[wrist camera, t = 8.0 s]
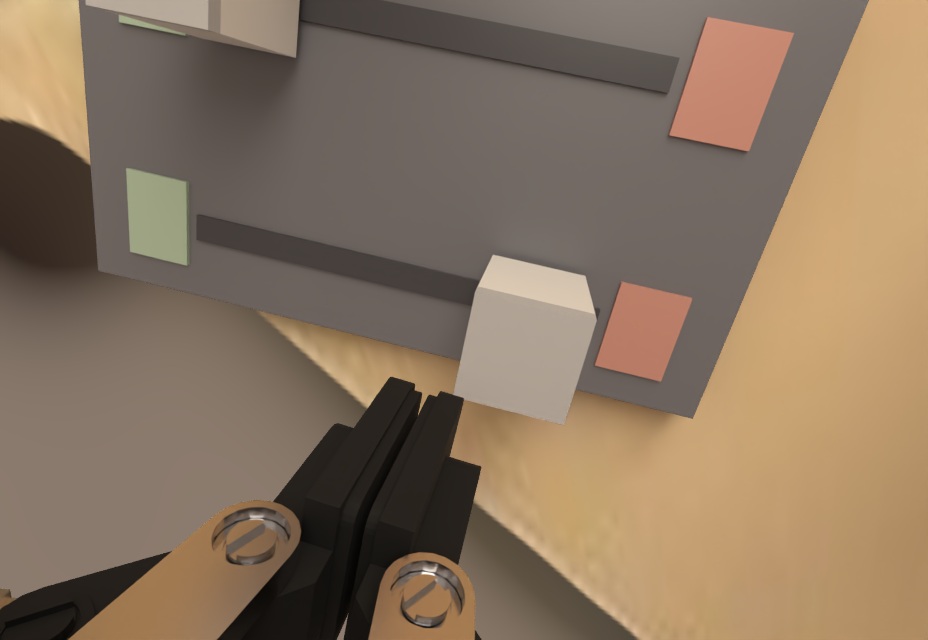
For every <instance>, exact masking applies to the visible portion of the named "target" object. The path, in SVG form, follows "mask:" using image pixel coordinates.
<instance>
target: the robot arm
mask: <svg viewBox="0 0 928 640" xmlns="http://www.w3.org/2000/svg"><path fill="white" fill-rule="evenodd" d="M421 398H422V392H418V391H415V384H414V383H411V382H407V381H404V380H401V379H397V378H394V377H390V378H389V379H388V380H387V382H386V383H385V385H384V386H383V387H382V389H381V390H380V392H379V393H378V395H377V396H376V397H375V399H374V400H373V402H372V403H371V405H370V406H369V407H368V409H367V410H366V412H365V413H364V415H363V416H362V417H361V419H360V420H359V422H358V423H357V425H356V426H355V427H354V428H351V427H348V426H345V425H342V424H334V426H332V427H331V429H330V430H329V431H328V432H327V434H326V435H325V436H324V437H323V439H322V440H321V441H320V443H319V444H318V445H317V446H316V448H315V449H314V450H313V451H312V453H311V454H310V455H309V457H308V458H307V459H306V460H305V462H304V463H303V464H302V466H301V467H300V468H299V470H298V471H297V472H296V473H295V474H294V476H293V477H292V478H291V480H290V481H289V482H288V483H287V485H286V486H285V487H284V489H283V490H282V491H281V492H280V494H279V495H278V496H277V497H276V499H275V500H274V501H273V502H271V501H261V500H253V501H246V502H240V503H237V504H235V505H232V506H229V507H227V508H225V509H224V510H222V511H221V512H219V513H217V514H216V515H214V516H213V517H212V518H211V519H210V520H208V521H207V522H206V523H205V524H204V525H203V526H201V527H200V528H199V529H198V530H197V531H196V532H194V533H193V534H192V535H191V536H190V537H189V538H187V539H186V540H185V541H184V542H183V543H181V544H180V545H179V546H178V547H177V548H176V549H174V550H173V551H171V552H167V553H163V554H160V555H156V556H153V557H149V558H146V559H142V560H139V561H135V562H132V563H128V564H125V565H121V566H118V567H114V568H111V569H107V570H103V571H100V572H96V573H93V574H90V575H86V576H83V577H79V578H75V579H72V580H68V581H65V582H61V583H58V584H54V585H51V586H47V587H43V588H41V589H38V590H36V591H33V592H30V593H28V594H25V595H22V596H21V597H19V598H11V592H10V590H9V589H0V640H337V637H338V635H339V633H340V631H341V629H342V626H343V624H344V622H345V620H346V617H347V615H348V619H347V625H346V629H345V635H344V640H481V638H480V637H479V635H478V634H477V632H476V631H475V596H474V589H473V586H472V584H471V582H470V580H469V578H468V576H467V575H466V574H465V572H464V571H463V570H462V569H461V568H460V567H459V566H458V563H459V559H460V554H461V550H462V546H463V542H464V538H465V534H466V529H467V525H468V521H469V517H470V513H471V509H472V504H473V500H474V496H475V492H476V488H477V484H478V480H479V475H480V471H481V466H477V465H474V464H471V463H467V462H464V461H461V460H457V459H454V458H451V457H450V453H451V449H452V445H453V441H454V437H455V433H456V429H457V425H458V421H459V418H460V414H461V410H462V406H463V401H464V398H462V397H459V396H456V395H452V394H449V393H445V392H442V391H440V392H439V394H438V396H437V397H435V396H432V395H429V396H428V397H427V399H426V401H425V403H424V405H423V407H422V409H421V411H420V413H419V415H418V412H419V407H420V403H421ZM417 416H418V417H417ZM348 613H349V614H348Z"/></svg>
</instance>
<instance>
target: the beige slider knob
mask: <svg viewBox="0 0 928 640" xmlns="http://www.w3.org/2000/svg"><path fill="white" fill-rule="evenodd" d="M596 322H597V318H596V315H595V311H594V307H593V303H592V299H591V295H590V292H589V288H588V284H587V280H586V276H584V275H579V274H575V273H571V272H566V271H562V270H558V269H553V268H549V267H545V266H540V265H536V264H532V263H527V262H523V261H519V260H514V259H510V258H506V257H501V256H497V255H493V256H492V258H491V260H490V262H489V264H488V266H487V268H486V270H485V272H484V274H483V276H482V279H481V281H480V283H479V285H478V287H477V289H476V291H475V295H474V300H473V304H472V309H471V314H470V318H469V323H468V328H467V332H466V337H465V342H464V346H463V351H462V356H461V360H460V365H459V370H458V374H457V379H456V384H455V388H454V393H453V395H456V396H459V397H462V398H464V400H467V401H471V402H475V403H479V404H483V405H486V406H490V407H494V408H498V409H502V410H506V411H510V412H514V413H518V414H522V415H526V416H530V417H533V418H537V419H541V420H545V421H549V422H553V423H557V424H561V425H564V424H565V421H566V417H567V414H568V411H569V408H570V405H571V401H572V398H573V395H574V392H575V389H576V385H577V382H578V379H579V376H580V373H581V370H582V366H583V363H584V360H585V357H586V354H587V350H588V347H589V344H590V341H591V338H592V335H593V331H594V328H595V325H596Z"/></svg>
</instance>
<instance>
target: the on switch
mask: <svg viewBox="0 0 928 640" xmlns="http://www.w3.org/2000/svg"><path fill="white" fill-rule="evenodd" d="M85 1H86V5H87V6H91V7H94V8H98V9H101V10H105V11H108V12H112V13H115V14H119V15H122V16H126V17H129V18H133V19H136V20H140V21H143V22H146V23H150V24H153V25H157V26H160V27H164V28H167V29H171V30H174V31H178V32H181V33H185V34H188V35H192V36H195V37H199V38H202V39H206V40H211V41H216V42H221V43H226V44H231V45H236V46H240V47H245V48H250V49H255V50H260V51H265V52H270V53H274V54H279V55H284V56H289V57H294V58H296V49H297V34H298V19H299V4H300V0H85Z"/></svg>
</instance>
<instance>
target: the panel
mask: <svg viewBox="0 0 928 640" xmlns="http://www.w3.org/2000/svg"><path fill="white" fill-rule="evenodd" d="M868 1H869V0H300V4H299V19H298V34H297V49H296V58H294V57H289V56H284V55H279V54H274V53H270V52H265V51H260V50H255V49H250V48H245V47H240V46H236V45H231V44H226V43H221V42H216V41H211V40H206V39H202V38H199V37H195V36H192V35H188V34H185V33H181V32H178V31H174V30H171V29H167V28H164V27H160V26H157V25H153V24H150V23H146V22H143V21H140V20H136V19H133V18H129V17H126V16H122V15H119V14H115V13H112V12H108V11H105V10H101V9H98V8H94V7H91V6H87V5H86V1H85V0H79V10H80V24H81V37H82V51H83V65H84V79H85V93H86V106H87V120H88V134H89V148H90V162H91V175H92V189H93V203H94V216H95V230H96V243H97V257H98V270H99V271H102V272H106V273H111V274H115V275H118V276H122V277H126V278H131V279H134V280H139V281H142V282H146V283H150V284H154V285H159V286H162V287H167V288H170V289H174V290H179V291H183V292H187V293H191V294H195V295H199V296H203V297H207V298H211V299H215V300H219V301H223V302H227V303H231V304H235V305H239V306H243V307H247V308H251V309H255V310H259V311H263V312H267V313H271V314H275V315H279V316H283V317H287V318H291V319H295V320H299V321H303V322H307V323H311V324H315V325H319V326H323V327H327V328H331V329H335V330H339V331H343V332H347V333H351V334H355V335H359V336H363V337H367V338H371V339H375V340H379V341H383V342H387V343H391V344H395V345H399V346H403V347H407V348H411V349H415V350H419V351H423V352H427V353H431V354H435V355H439V356H443V357H447V358H451V359H455V360H459V361H460V360H461V356H462V351H463V346H464V342H465V337H466V332H467V328H468V323H469V318H470V314H471V309H472V304H473V300H474V295H475V291H476V289H477V287H478V285H479V283H480V281H481V279H482V276H483V274H484V272H485V270H486V268H487V266H488V264H489V262H490V260H491V258H492V256H493V255H497V256H501V257H506V258H510V259H514V260H519V261H523V262H527V263H532V264H536V265H540V266H545V267H549V268H553V269H558V270H562V271H566V272H571V273H575V274H579V275H584V276H586V280H587V284H588V288H589V292H590V295H591V299H592V303H593V307H594V311H595V315H596V318H597V322H596V325H595V328H594V331H593V335H592V338H591V341H590V344H589V347H588V350H587V354H586V357H585V360H584V363H583V366H582V370H581V373H580V376H579V379H578V382H577V385H576V390H580V391H584V392H588V393H592V394H596V395H600V396H604V397H608V398H612V399H616V400H620V401H624V402H628V403H632V404H636V405H640V406H644V407H648V408H652V409H656V410H660V411H664V412H668V413H672V414H676V415H680V416H684V417H688V418H692V419H693V417H694V414H695V412H696V410H697V407H698V405H699V402H700V400H701V398H702V395H703V393H704V391H705V388H706V386H707V383H708V381H709V379H710V376H711V374H712V372H713V369H714V367H715V364H716V362H717V360H718V357H719V355H720V353H721V350H722V348H723V345H724V343H725V341H726V338H727V336H728V334H729V331H730V329H731V326H732V324H733V322H734V319H735V317H736V315H737V312H738V310H739V308H740V305H741V303H742V300H743V298H744V296H745V293H746V291H747V289H748V286H749V284H750V281H751V279H752V277H753V274H754V272H755V270H756V267H757V265H758V262H759V260H760V258H761V255H762V253H763V251H764V248H765V246H766V243H767V241H768V239H769V236H770V234H771V232H772V229H773V227H774V224H775V222H776V220H777V217H778V215H779V213H780V210H781V208H782V205H783V203H784V201H785V198H786V196H787V194H788V191H789V189H790V186H791V184H792V182H793V179H794V177H795V175H796V172H797V170H798V167H799V165H800V163H801V160H802V158H803V156H804V153H805V151H806V148H807V146H808V144H809V141H810V139H811V137H812V134H813V132H814V129H815V127H816V125H817V122H818V120H819V118H820V115H821V113H822V110H823V108H824V106H825V103H826V101H827V99H828V96H829V94H830V91H831V89H832V87H833V84H834V82H835V80H836V77H837V75H838V72H839V70H840V68H841V65H842V63H843V61H844V58H845V56H846V53H847V51H848V49H849V46H850V44H851V42H852V39H853V37H854V34H855V32H856V30H857V27H858V25H859V23H860V20H861V18H862V15H863V13H864V11H865V8H866V6H867V4H868Z"/></svg>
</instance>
